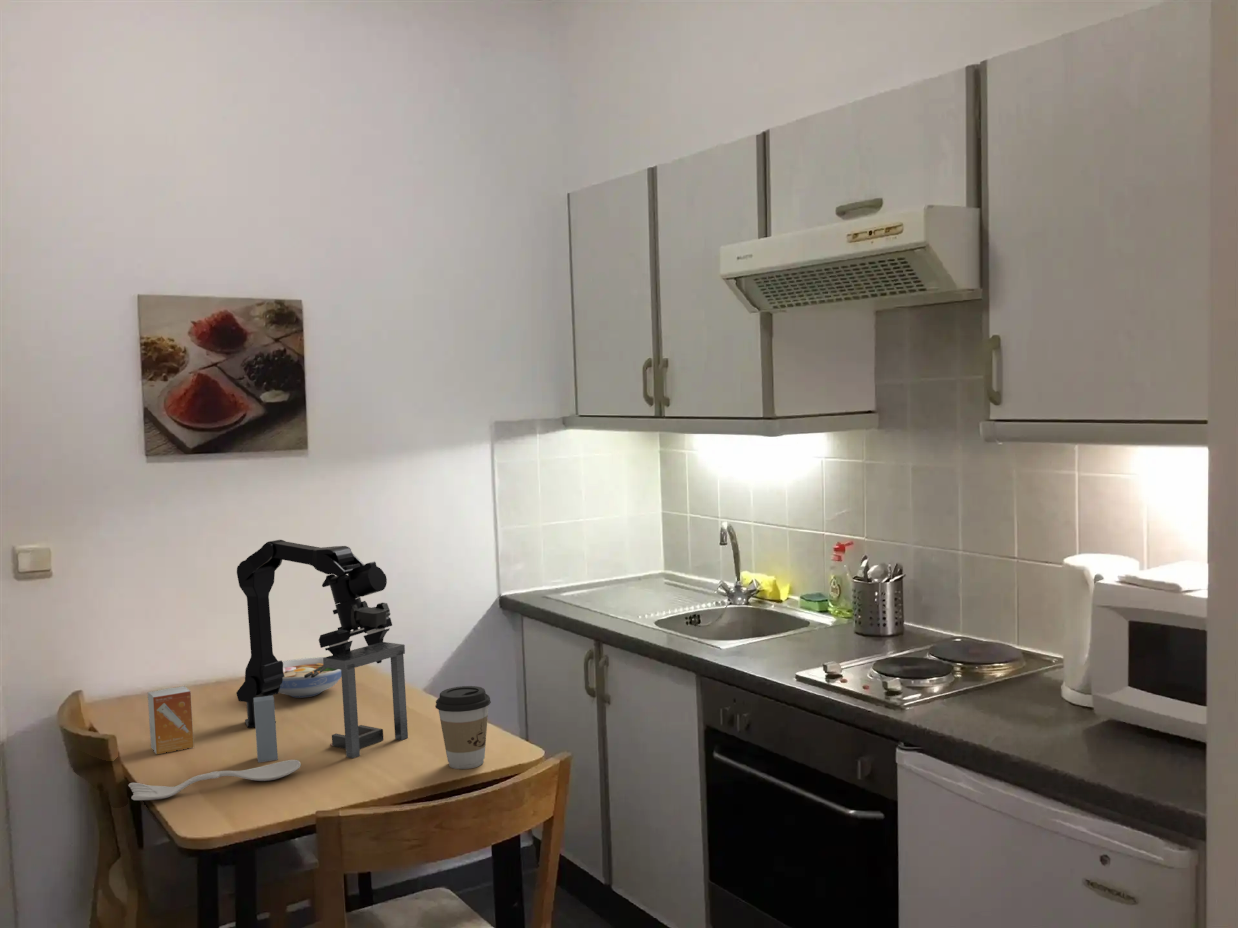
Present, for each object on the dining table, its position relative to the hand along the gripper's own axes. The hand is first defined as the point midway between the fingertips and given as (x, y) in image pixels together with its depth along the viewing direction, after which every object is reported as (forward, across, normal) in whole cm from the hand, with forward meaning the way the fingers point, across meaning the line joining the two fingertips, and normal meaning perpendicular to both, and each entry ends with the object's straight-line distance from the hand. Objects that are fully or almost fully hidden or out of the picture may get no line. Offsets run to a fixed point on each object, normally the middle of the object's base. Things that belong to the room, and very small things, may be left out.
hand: (366, 667), depth 247 cm
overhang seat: (+16, -5, +2) cm, 17 cm away
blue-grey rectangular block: (+12, -20, +15) cm, 28 cm away
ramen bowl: (+5, +24, +45) cm, 51 cm away
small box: (+5, -22, +41) cm, 47 cm away
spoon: (+13, -38, +11) cm, 42 cm away
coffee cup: (+24, -9, -27) cm, 37 cm away
